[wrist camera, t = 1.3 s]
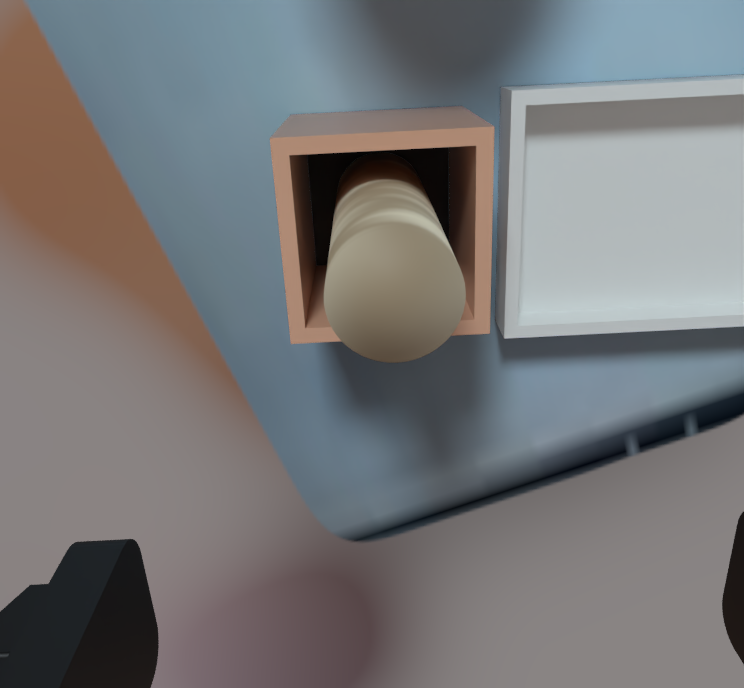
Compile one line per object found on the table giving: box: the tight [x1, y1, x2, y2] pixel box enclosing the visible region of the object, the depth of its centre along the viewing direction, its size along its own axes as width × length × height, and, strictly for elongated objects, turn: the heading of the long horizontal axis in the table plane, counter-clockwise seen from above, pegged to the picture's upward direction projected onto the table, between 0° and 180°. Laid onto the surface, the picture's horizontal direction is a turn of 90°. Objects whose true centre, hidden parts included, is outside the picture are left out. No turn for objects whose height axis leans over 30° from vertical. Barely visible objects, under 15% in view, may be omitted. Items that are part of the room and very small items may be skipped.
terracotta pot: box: [270, 106, 494, 344], centre depth 29 cm, size 8×8×8 cm
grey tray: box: [495, 74, 744, 339], centre depth 32 cm, size 15×11×2 cm
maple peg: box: [324, 152, 466, 363], centre depth 26 cm, size 4×4×14 cm
